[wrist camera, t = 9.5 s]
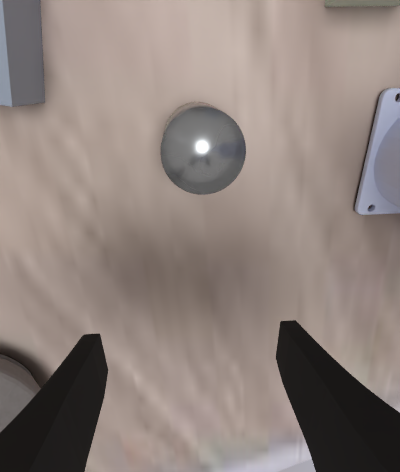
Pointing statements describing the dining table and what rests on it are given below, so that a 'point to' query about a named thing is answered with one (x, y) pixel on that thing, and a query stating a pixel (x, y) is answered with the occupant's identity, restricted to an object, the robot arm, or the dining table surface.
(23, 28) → the slate blue block
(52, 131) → the dining table surface
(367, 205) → the robot arm
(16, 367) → the coffee pot
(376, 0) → the sage block
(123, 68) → the dining table surface
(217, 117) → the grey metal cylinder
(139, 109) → the dining table surface
